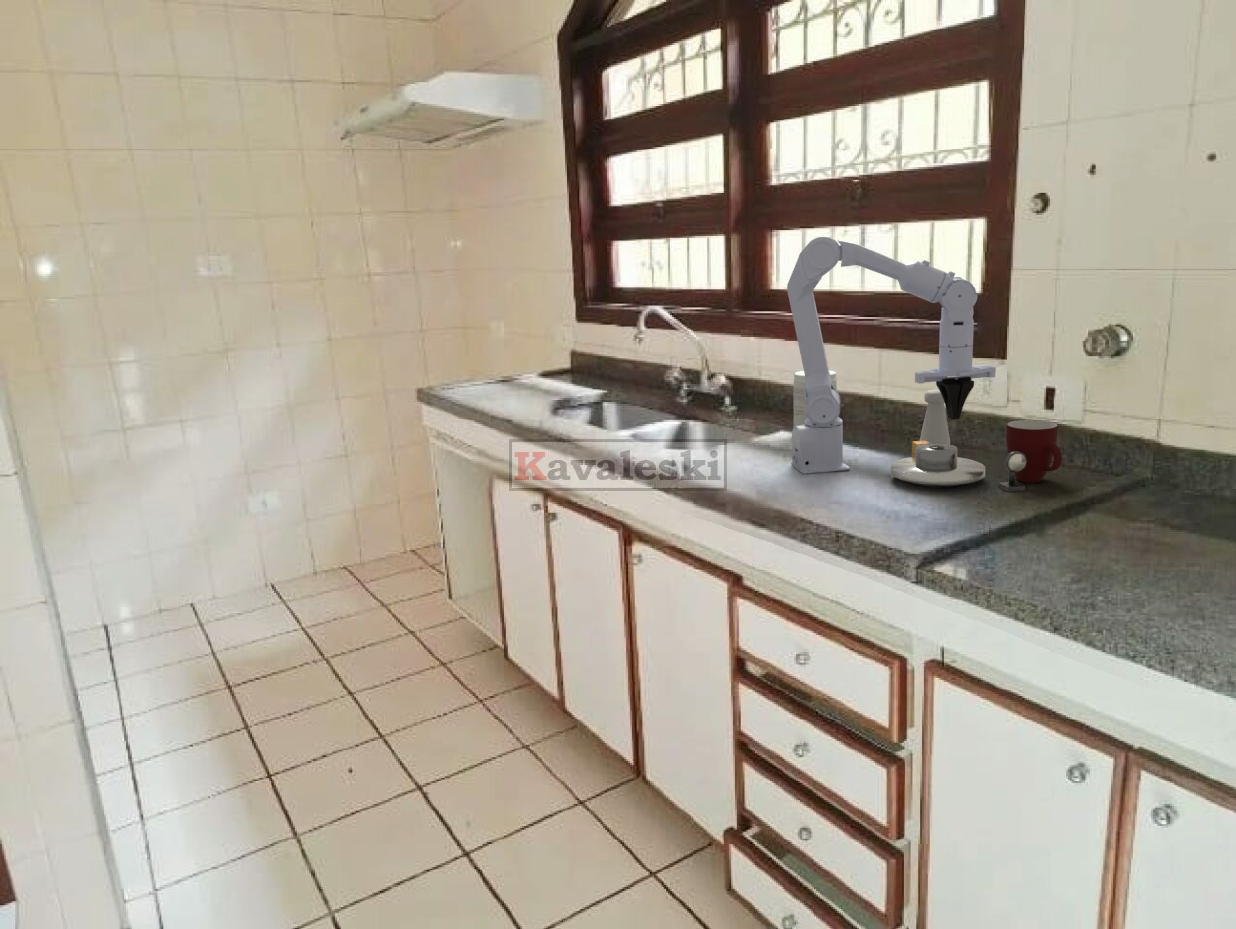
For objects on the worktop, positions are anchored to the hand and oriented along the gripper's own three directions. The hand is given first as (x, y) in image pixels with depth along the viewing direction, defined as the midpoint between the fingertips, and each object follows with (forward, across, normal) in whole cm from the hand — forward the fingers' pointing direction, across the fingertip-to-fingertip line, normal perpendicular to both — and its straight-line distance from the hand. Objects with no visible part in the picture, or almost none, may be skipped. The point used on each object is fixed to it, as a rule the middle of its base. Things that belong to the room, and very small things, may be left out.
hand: (953, 418), depth 157 cm
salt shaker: (+10, +2, +11) cm, 15 cm away
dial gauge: (+10, +3, -16) cm, 19 cm away
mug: (+10, +9, -13) cm, 18 cm away
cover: (+7, -6, -7) cm, 12 cm away
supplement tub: (+10, -15, +35) cm, 40 cm away
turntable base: (+10, -6, -7) cm, 13 cm away
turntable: (+8, -6, -7) cm, 12 cm away
